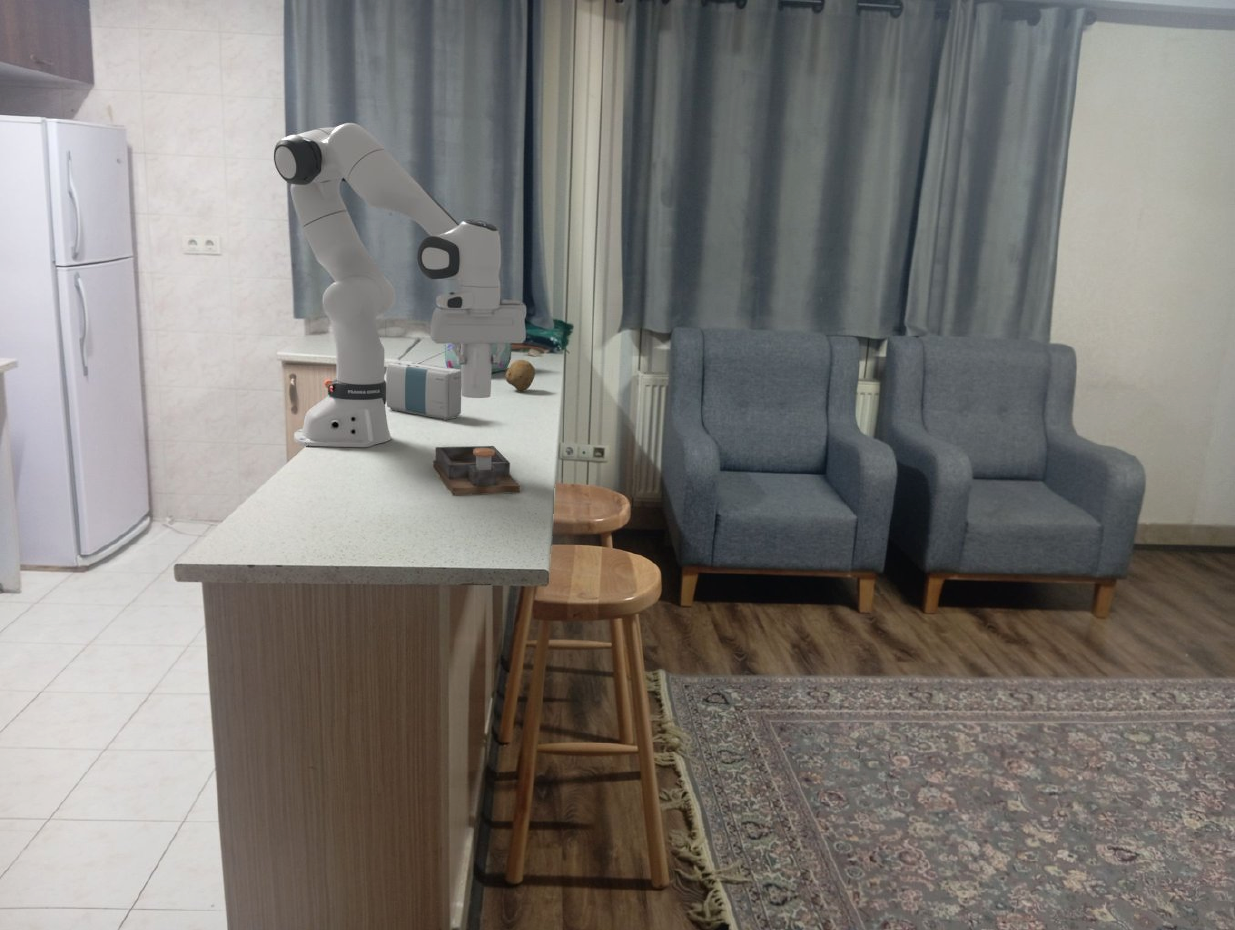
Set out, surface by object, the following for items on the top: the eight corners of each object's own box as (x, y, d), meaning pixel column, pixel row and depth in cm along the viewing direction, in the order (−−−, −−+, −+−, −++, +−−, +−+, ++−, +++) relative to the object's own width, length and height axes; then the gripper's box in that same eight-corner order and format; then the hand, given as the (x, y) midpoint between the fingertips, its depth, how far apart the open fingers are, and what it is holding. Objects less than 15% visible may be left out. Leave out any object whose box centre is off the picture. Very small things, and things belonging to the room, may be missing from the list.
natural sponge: (504, 393, 312) (505, 361, 309) (506, 387, 320) (507, 356, 318) (533, 394, 312) (534, 362, 309) (534, 389, 321) (536, 358, 318)
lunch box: (463, 379, 330) (465, 313, 325) (439, 375, 335) (441, 310, 330) (513, 370, 352) (516, 309, 347) (490, 366, 357) (492, 305, 352)
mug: (462, 393, 224) (462, 339, 221) (492, 394, 224) (493, 340, 222) (457, 399, 214) (458, 343, 212) (489, 400, 214) (490, 344, 212)
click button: (475, 476, 206) (475, 453, 205) (470, 470, 210) (471, 447, 208) (496, 475, 207) (497, 452, 206) (491, 469, 211) (492, 447, 210)
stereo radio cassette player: (384, 410, 277) (384, 337, 272) (404, 406, 284) (404, 335, 279) (446, 422, 268) (447, 347, 263) (464, 417, 275) (466, 344, 270)
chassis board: (452, 495, 204) (453, 473, 203) (433, 466, 224) (433, 447, 222) (519, 492, 209) (520, 471, 208) (494, 465, 229) (495, 445, 227)
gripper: (522, 298, 221) (520, 361, 224) (428, 297, 213) (428, 362, 217) (530, 301, 215) (528, 365, 218) (434, 300, 208) (434, 366, 211)
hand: (478, 364), depth 217 cm, fingers closed on mug, 6 cm apart
